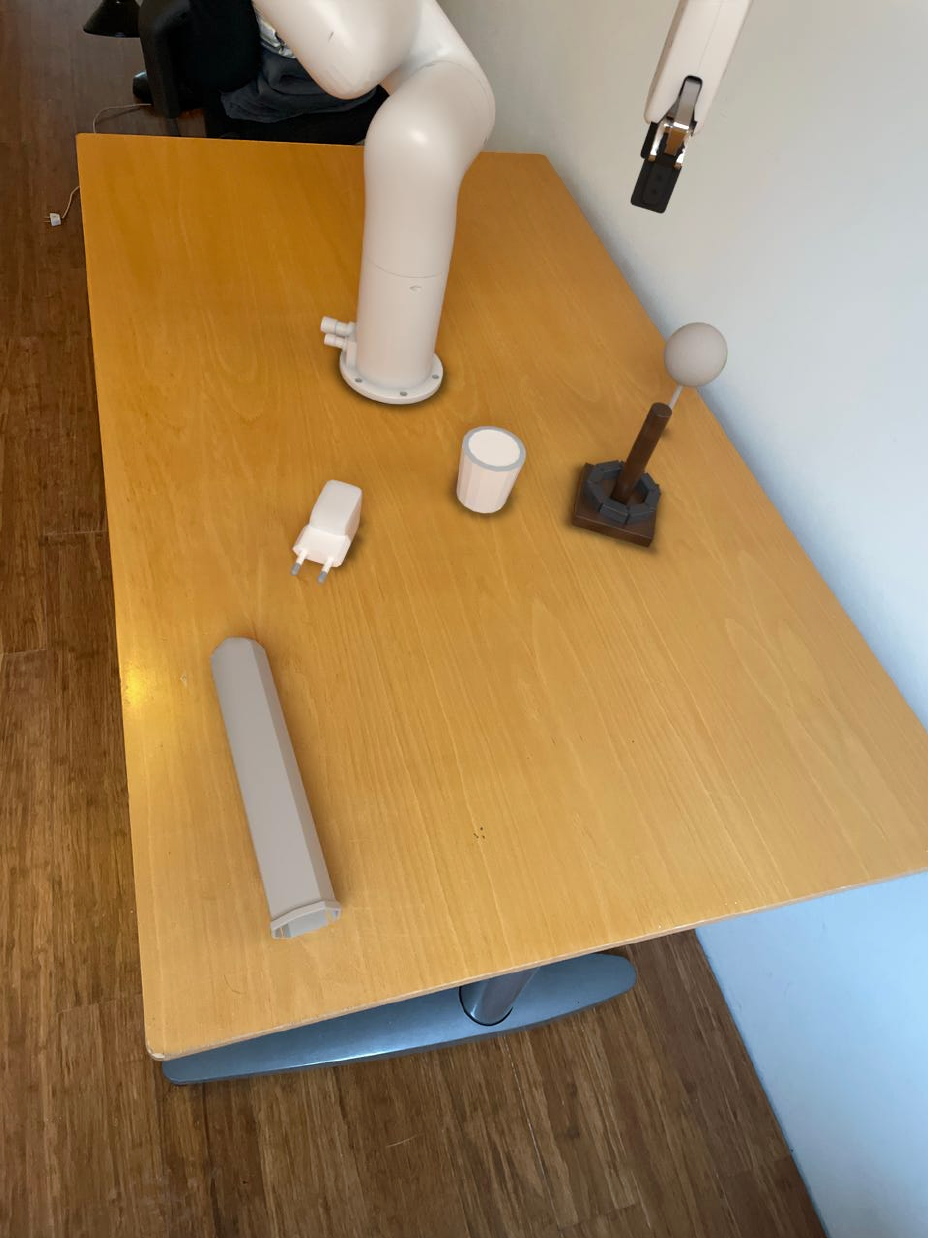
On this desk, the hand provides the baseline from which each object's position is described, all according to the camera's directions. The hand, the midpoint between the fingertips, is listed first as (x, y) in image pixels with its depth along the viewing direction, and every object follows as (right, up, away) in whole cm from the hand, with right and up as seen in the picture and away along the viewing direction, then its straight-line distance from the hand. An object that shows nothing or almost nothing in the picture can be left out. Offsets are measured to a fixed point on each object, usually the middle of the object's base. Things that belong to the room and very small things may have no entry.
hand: (651, 183), depth 75 cm
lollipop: (+7, -16, +28) cm, 33 cm away
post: (0, -27, +18) cm, 33 cm away
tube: (-33, -54, -8) cm, 64 cm away
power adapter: (-31, -34, +6) cm, 47 cm away
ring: (+1, -26, +17) cm, 31 cm away
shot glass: (-15, -26, +16) cm, 34 cm away
